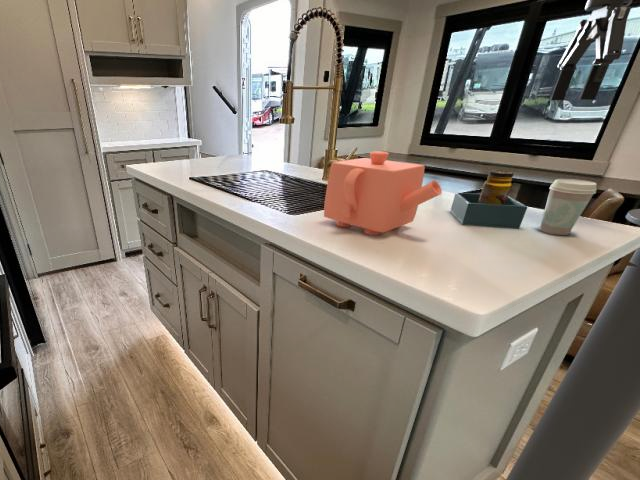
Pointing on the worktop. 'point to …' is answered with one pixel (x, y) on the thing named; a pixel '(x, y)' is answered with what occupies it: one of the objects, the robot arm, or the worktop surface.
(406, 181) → the teapot
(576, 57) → the robot arm
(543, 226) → the coffee cup
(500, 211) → the box
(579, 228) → the worktop surface
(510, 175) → the condiment
